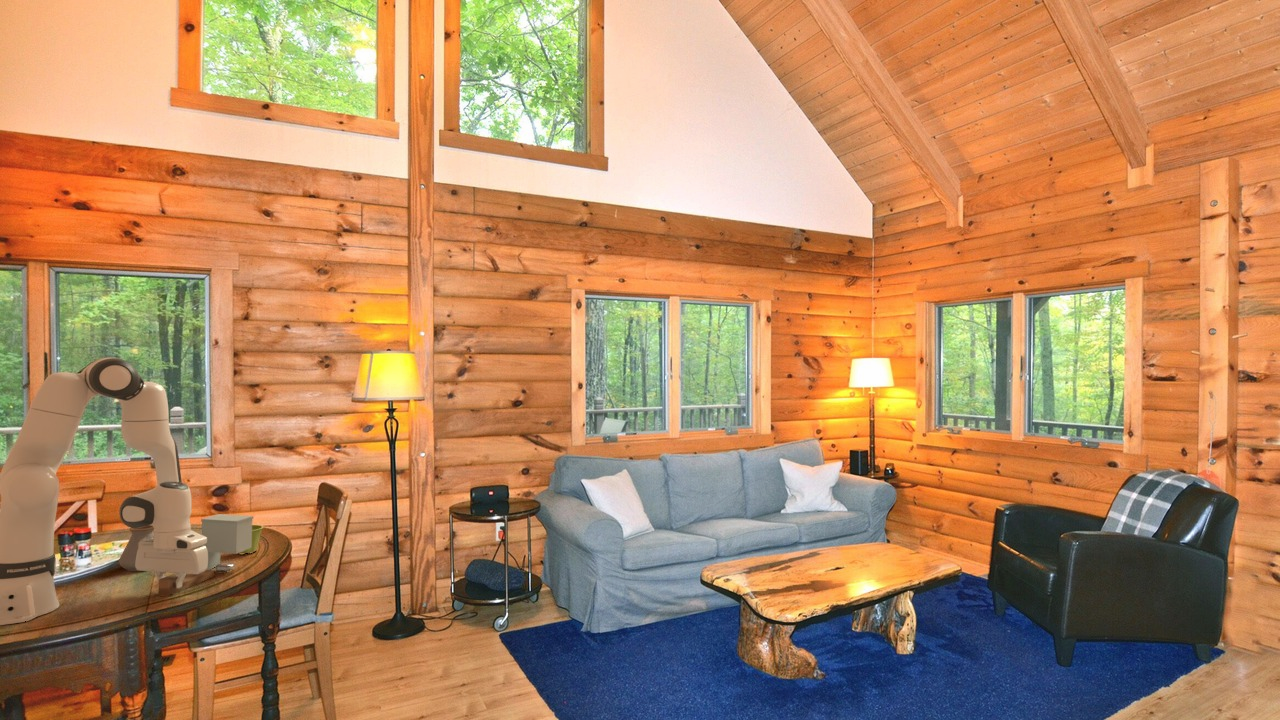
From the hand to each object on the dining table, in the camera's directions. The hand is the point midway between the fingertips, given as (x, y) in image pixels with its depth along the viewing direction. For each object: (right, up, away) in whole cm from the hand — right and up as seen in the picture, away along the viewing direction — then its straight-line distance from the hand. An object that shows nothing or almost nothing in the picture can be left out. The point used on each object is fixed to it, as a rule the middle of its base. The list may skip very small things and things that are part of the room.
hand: (170, 587), depth 192 cm
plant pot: (-3, -2, +42) cm, 42 cm away
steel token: (+2, -2, +21) cm, 22 cm away
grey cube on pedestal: (+2, -2, +22) cm, 22 cm away
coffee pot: (-27, -2, +27) cm, 38 cm away
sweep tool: (+1, -2, +6) cm, 6 cm away
